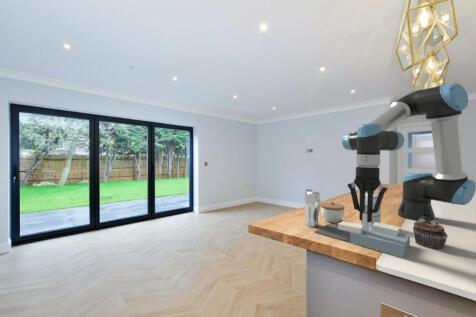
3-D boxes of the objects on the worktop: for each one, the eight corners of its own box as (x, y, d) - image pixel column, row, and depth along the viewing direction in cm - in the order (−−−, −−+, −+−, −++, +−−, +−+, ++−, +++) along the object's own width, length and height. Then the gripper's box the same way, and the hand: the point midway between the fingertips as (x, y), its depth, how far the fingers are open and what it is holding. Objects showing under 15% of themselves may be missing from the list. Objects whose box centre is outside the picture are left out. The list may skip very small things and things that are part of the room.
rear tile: (375, 226, 88) (375, 221, 87) (399, 232, 82) (400, 227, 82) (371, 230, 84) (371, 225, 84) (397, 236, 78) (397, 230, 78)
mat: (328, 224, 101) (328, 223, 101) (361, 233, 91) (361, 232, 91) (314, 232, 91) (314, 231, 91) (349, 242, 81) (349, 241, 81)
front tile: (343, 225, 89) (343, 220, 89) (365, 230, 83) (365, 225, 83) (338, 229, 85) (338, 223, 85) (360, 234, 79) (360, 228, 79)
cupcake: (414, 246, 79) (415, 219, 79) (411, 237, 88) (412, 212, 87) (450, 253, 74) (451, 224, 74) (443, 243, 82) (445, 217, 82)
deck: (361, 233, 91) (361, 223, 91) (409, 245, 80) (410, 234, 80) (349, 242, 81) (350, 232, 81) (403, 258, 70) (403, 246, 70)
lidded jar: (331, 225, 100) (332, 205, 100) (315, 218, 110) (316, 200, 109) (349, 223, 104) (349, 203, 104) (331, 216, 114) (332, 198, 114)
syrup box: (381, 226, 100) (382, 194, 99) (371, 228, 98) (373, 195, 97) (369, 222, 105) (370, 192, 104) (360, 223, 103) (361, 193, 102)
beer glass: (304, 226, 98) (305, 193, 97) (303, 221, 105) (304, 190, 104) (320, 228, 96) (321, 194, 96) (318, 223, 103) (319, 191, 102)
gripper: (345, 165, 82) (343, 227, 83) (386, 168, 73) (383, 237, 74) (351, 164, 87) (349, 223, 88) (391, 167, 78) (388, 232, 79)
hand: (365, 229), depth 81 cm, fingers closed
